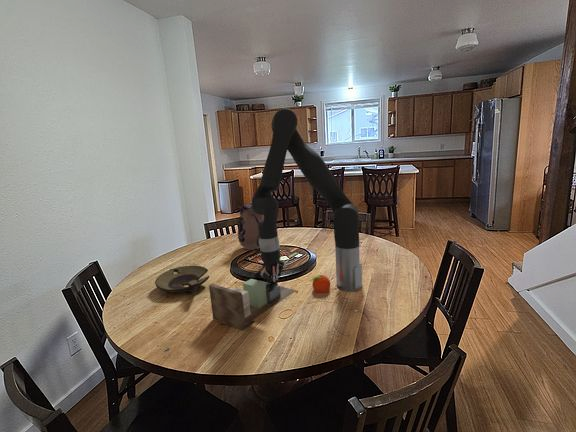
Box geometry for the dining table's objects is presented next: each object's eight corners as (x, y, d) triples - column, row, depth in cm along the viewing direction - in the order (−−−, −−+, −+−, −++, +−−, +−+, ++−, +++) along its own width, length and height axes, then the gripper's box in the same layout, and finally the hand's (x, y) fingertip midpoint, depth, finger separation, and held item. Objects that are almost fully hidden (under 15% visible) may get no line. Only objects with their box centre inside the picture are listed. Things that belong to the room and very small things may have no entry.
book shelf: (296, 293, 124) (294, 262, 122) (242, 330, 101) (238, 294, 98) (269, 285, 133) (266, 257, 130) (213, 319, 109) (208, 285, 107)
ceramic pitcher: (235, 246, 189) (231, 205, 183) (268, 240, 197) (265, 200, 192) (244, 255, 173) (240, 210, 168) (279, 247, 181) (276, 204, 176)
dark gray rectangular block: (280, 297, 119) (279, 285, 118) (270, 303, 115) (269, 292, 114) (261, 291, 125) (260, 280, 124) (250, 297, 121) (249, 286, 120)
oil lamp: (209, 272, 152) (207, 257, 151) (211, 299, 124) (208, 281, 122) (160, 279, 147) (158, 264, 146) (150, 310, 119) (146, 291, 117)
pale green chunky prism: (267, 302, 116) (265, 282, 114) (259, 308, 112) (257, 287, 111) (253, 298, 120) (251, 278, 118) (244, 303, 116) (242, 283, 115)
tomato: (313, 298, 119) (312, 280, 118) (307, 290, 126) (306, 274, 124) (333, 294, 121) (332, 277, 120) (326, 287, 128) (325, 270, 126)
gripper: (265, 255, 113) (271, 298, 117) (288, 243, 123) (292, 283, 127) (250, 252, 117) (256, 294, 122) (273, 240, 128) (277, 280, 132)
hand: (274, 288), depth 125 cm, fingers closed
